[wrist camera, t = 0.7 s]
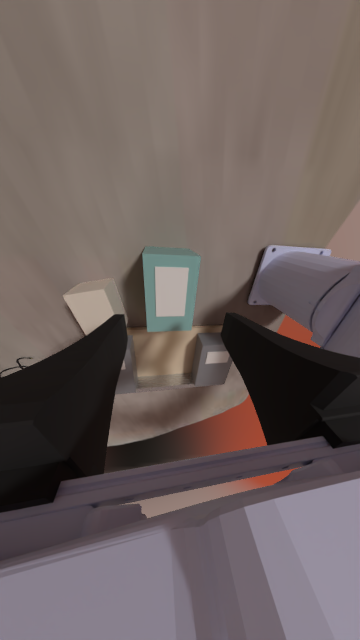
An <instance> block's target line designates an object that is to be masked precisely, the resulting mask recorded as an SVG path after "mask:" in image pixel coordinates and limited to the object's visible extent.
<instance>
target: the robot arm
mask: <svg viewBox="0 0 360 640" xmlns="http://www.w3.org/2000/svg"><path fill="white" fill-rule="evenodd" d="M273 248H274V250H273V251H272V249H273ZM330 254H331V250H330V249H320V248H305V247H291V246H277V245H268V246H267V247H266V248H265V251H264V254H263V257H262V260H261V263H260V266H259V269H258V272H257V275H256V278H255V281H254V284H253V287H252V290H251V293H250V296H249V299H248V304H249V305H272V306H274V307H275V308H277V309H278V310H280V311H281V312H283V313H284V314H286V315H287V316H289V317H290V318H292V319H293V320H295V321H296V322H298V323H299V324H301V325H303V326H304V327H305V328H307V329H308V330H310V331H311V332H313V335H312V337H311V340H312V341H314V342H315V343H317V344H318V345H319V346H321V347H320V348H318V347H314V346H311V345H308V344H305V343H302V342H299V341H296V340H293V339H291V338H288V337H285V336H282V335H280V334H278V333H276V332H274V331H271V330H269V329H267V328H265V327H263V326H261V325H259V324H257V323H255V322H253V321H251V320H249V319H247V318H245V317H243V316H241V315H238V314H236V313H226V316H225V319H224V323H223V327H222V331H221V338H222V341H223V343H224V346H225V348H226V350H227V351H228V353H229V355H230V357H231V358H232V360H233V362H234V364H235V365H236V367H237V369H238V370H239V372H240V374H241V376H242V378H243V380H244V383H245V385H246V387H247V390H248V392H249V394H250V397H251V399H252V402H253V404H254V407H255V410H256V412H257V415H258V418H259V421H260V424H261V427H262V430H263V433H264V436H265V439H266V442H267V445H268V446H262V447H256V448H251V449H245V450H239V451H233V452H228V453H222V454H216V455H210V456H205V457H199V458H193V459H187V460H182V461H176V462H170V463H164V464H158V465H152V466H147V467H141V468H136V469H129V470H124V471H118V472H112V473H107V474H104V466H105V458H106V450H107V442H108V435H109V428H110V421H111V415H112V409H113V403H114V397H115V391H116V386H117V382H118V378H119V375H120V371H121V368H122V364H123V361H124V357H125V354H126V349H127V342H128V335H127V328H126V322H125V315H124V314H114V315H113V316H112V317H110V318H109V319H108V320H106V321H105V322H104V323H103V324H101V325H100V326H99V327H97V328H96V329H95V330H93V331H92V332H91V333H89V334H88V335H86V336H85V337H83V338H82V339H80V340H79V341H77V342H76V343H74V344H72V345H71V346H69V347H67V348H65V349H64V350H62V351H60V352H58V353H56V354H54V355H52V356H50V357H48V358H46V359H44V360H42V361H40V362H38V363H36V364H33V365H31V366H29V367H27V368H24V369H22V370H20V371H17V372H15V373H12V374H10V375H7V376H5V377H2V378H0V640H360V261H355V260H348V259H343V258H337V257H330ZM254 301H255V302H254ZM303 466H304V467H303ZM298 467H301V468H298ZM293 468H298V469H295V470H293V471H291V473H290V474H289V475H288V476H287V477H285V478H284V479H282V480H281V481H279V482H277V483H275V484H274V485H271V486H266V487H262V488H257V489H253V490H249V491H245V492H241V493H237V494H233V495H229V496H225V497H221V498H218V499H214V500H210V501H207V502H203V503H199V504H196V505H192V506H189V507H185V508H182V509H179V510H175V511H172V512H168V513H165V514H161V515H158V516H154V517H151V518H147V517H146V515H145V514H142V513H141V506H140V504H128V505H120V504H125V503H130V502H135V501H140V500H144V499H149V498H154V497H159V496H164V495H168V494H173V493H178V492H183V491H188V490H192V489H197V488H202V487H207V486H212V485H217V484H221V483H226V482H231V481H235V480H241V479H245V478H250V477H255V476H260V475H265V474H270V473H274V472H279V471H284V470H289V469H293Z"/></svg>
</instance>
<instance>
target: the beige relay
mask: <svg viewBox="0 0 360 640" xmlns="http://www.w3.org/2000/svg"><path fill="white" fill-rule="evenodd" d="M63 298H64V299H65V301H66V303H67V304H68V306H69V308H70V309H71V311H72V313H73V314H74V316H75V318H76V319H77V321H78V323H79V324H80V326H81V328H82V330H83V331H84V333H85V335H88V334H89V333H91V332H92V331H93V330H95V329H96V328H97V327H99V326H100V325H101V324H103V323H104V322H105V321H106V320H108V319H109V318H110V317H112V316H113V315H114V314H124V315H125V322H126V325H127V321H128V318H127V315H126V312H125V309H124V307H123V304H122V301H121V299H120V296H119V293H118V290H117V288H116V285H115V282H114V280H113V278H109V279H102V280H96V281H90V282H84V283H79V284H77V285H76V286H75V287H73V288H72V289H71V290H69V291H68V292H67V293H65V294H64V295H63Z"/></svg>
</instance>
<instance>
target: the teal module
mask: <svg viewBox="0 0 360 640" xmlns="http://www.w3.org/2000/svg"><path fill="white" fill-rule="evenodd" d="M142 256H143V272H144V288H145V303H146V319H147V332H161V331H191V330H192V322H193V314H194V306H195V298H196V291H197V283H198V275H199V267H200V259H201V256H200V255H198V254H196V253H195V252H193V251H192V250H190V249H184V248H165V247H147V246H146V247H145V249H144V251H143V253H142Z"/></svg>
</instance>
